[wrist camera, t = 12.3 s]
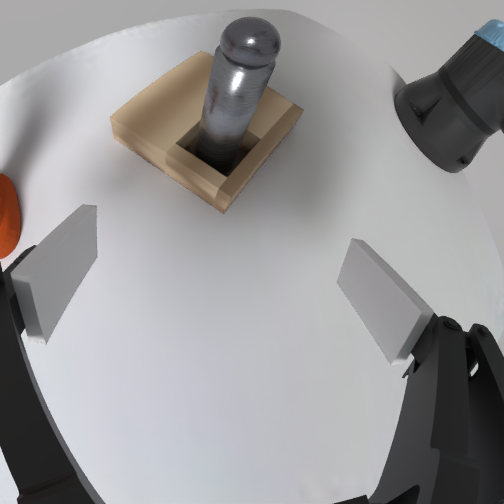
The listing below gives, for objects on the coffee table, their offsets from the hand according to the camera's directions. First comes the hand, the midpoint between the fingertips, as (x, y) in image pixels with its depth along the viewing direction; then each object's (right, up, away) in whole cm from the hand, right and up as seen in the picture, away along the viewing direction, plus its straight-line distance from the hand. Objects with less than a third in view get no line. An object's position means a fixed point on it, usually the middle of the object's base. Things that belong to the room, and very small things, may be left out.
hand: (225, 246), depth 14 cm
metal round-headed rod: (-2, +8, +10) cm, 12 cm away
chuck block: (-3, +11, +11) cm, 15 cm away
